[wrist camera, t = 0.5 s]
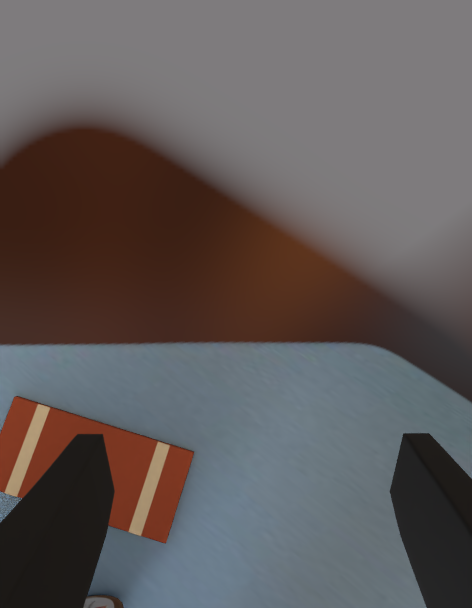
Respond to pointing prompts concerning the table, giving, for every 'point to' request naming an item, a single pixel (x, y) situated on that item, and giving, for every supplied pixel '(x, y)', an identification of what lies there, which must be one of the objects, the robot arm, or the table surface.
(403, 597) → the table surface
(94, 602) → the tin
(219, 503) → the table surface
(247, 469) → the table surface
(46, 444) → the towel
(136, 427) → the table surface
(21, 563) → the robot arm
